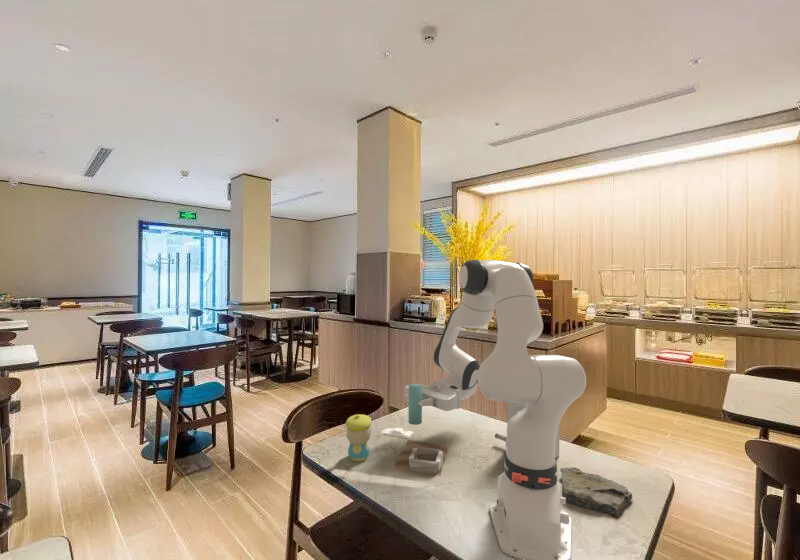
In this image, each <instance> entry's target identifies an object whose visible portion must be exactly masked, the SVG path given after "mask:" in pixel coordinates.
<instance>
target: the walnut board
mask: <svg viewBox="0 0 800 560" xmlns="http://www.w3.org/2000/svg"><path fill="white" fill-rule="evenodd" d="M449 446H450V444H447V443H446V444H445V443H439V442H430V441H429V442H428V441H422V440H412V439H407V442H406V443H405V445H404V447H403V449H402V451H401V453H400V455H399V456H398V458H397V460H396V462H395V464H394V465H393V468H392V470H394V471H403V472H409V473H416V474H423V475H431V476H438V477H441V476H442V471H443V468H444V465H445V462H446V458H447V455H448V449H449Z"/></svg>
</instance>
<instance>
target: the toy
mask: <svg viewBox="0 0 800 560" xmlns="http://www.w3.org/2000/svg"><path fill="white" fill-rule="evenodd" d="M372 421H373V420H372V418H371V417H370V416H369V415H367V414H359V413H357V414H353V415H350V416H349V417H348V418H347V419H346V421H345V425H346V428H347V429H346V438H347V440H348V442H349V445H348V447H347V448H348V449H347V454H348V457H349V459H350V460H351V461H354V462H363V461H366V460H367V458H368V456H369V455H370V447H369V444H368V442H369V440H370V438H371V434H372V433H371V432H372V429H371V428H372V427H371V425H372Z"/></svg>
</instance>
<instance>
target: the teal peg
mask: <svg viewBox="0 0 800 560" xmlns="http://www.w3.org/2000/svg"><path fill="white" fill-rule="evenodd" d="M420 384H421V383H411V384H410V383H409V384H408V385H409V402H408V410H407V411H408V412H407V413H408V415H407V416H408V417H407V420H408V422H407V423H408V424H410V425H415V426H417V425H421V424H422V423H423V421H422V419H423V414H422V413H423V407H421V406H419V405H418V400H421V399H422V385H420Z"/></svg>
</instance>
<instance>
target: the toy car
mask: <svg viewBox="0 0 800 560" xmlns="http://www.w3.org/2000/svg"><path fill="white" fill-rule="evenodd" d="M414 433H415V432H414V431H411V430H407V429H405V428H401V427H395V428H394V427H393V428H392V427H390V428H385V429H383V430H382V432H381V434H383V435H387V436H392V437H396V438H397V437H398V438H401V439H402V438H403V439H407V440H410V438H411V437H412V436H413V435H414Z"/></svg>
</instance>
